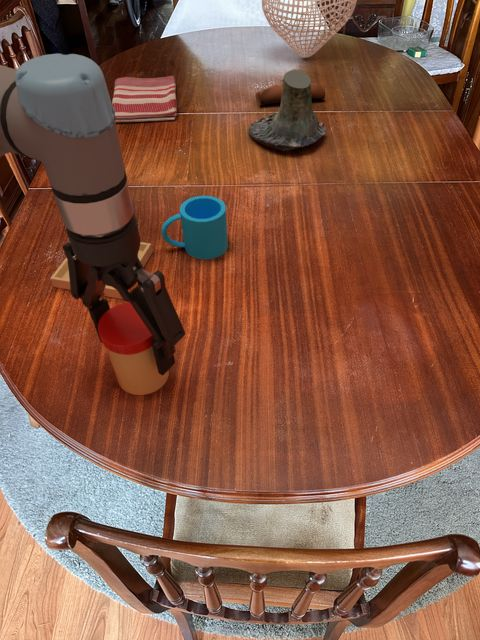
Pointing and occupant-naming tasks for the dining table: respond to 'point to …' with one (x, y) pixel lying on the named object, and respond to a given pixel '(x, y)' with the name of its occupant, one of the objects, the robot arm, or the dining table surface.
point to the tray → (63, 281)
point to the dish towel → (144, 99)
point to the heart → (320, 24)
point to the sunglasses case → (275, 94)
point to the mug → (201, 227)
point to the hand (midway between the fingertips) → (137, 352)
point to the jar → (137, 372)
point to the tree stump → (290, 117)
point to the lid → (124, 330)
